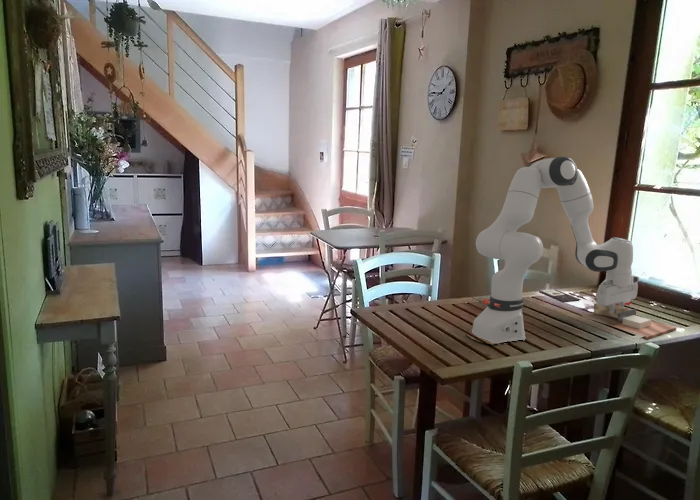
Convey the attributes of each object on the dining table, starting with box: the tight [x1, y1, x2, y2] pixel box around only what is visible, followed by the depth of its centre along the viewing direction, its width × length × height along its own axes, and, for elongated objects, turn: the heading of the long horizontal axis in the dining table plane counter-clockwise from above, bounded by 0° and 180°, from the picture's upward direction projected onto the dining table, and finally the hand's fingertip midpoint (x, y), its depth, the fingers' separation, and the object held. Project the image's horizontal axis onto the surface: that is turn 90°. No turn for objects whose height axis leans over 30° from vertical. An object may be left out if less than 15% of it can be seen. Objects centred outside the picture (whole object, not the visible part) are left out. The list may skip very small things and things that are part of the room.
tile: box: [622, 314, 652, 329], centre depth 200 cm, size 7×7×2 cm
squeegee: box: [593, 302, 637, 321], centre depth 209 cm, size 14×10×4 cm
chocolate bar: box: [538, 289, 582, 303], centre depth 243 cm, size 9×1×18 cm
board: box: [580, 311, 677, 340], centre depth 204 cm, size 18×28×1 cm, turn 29°
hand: (615, 312), depth 207 cm, fingers closed on squeegee, 2 cm apart
